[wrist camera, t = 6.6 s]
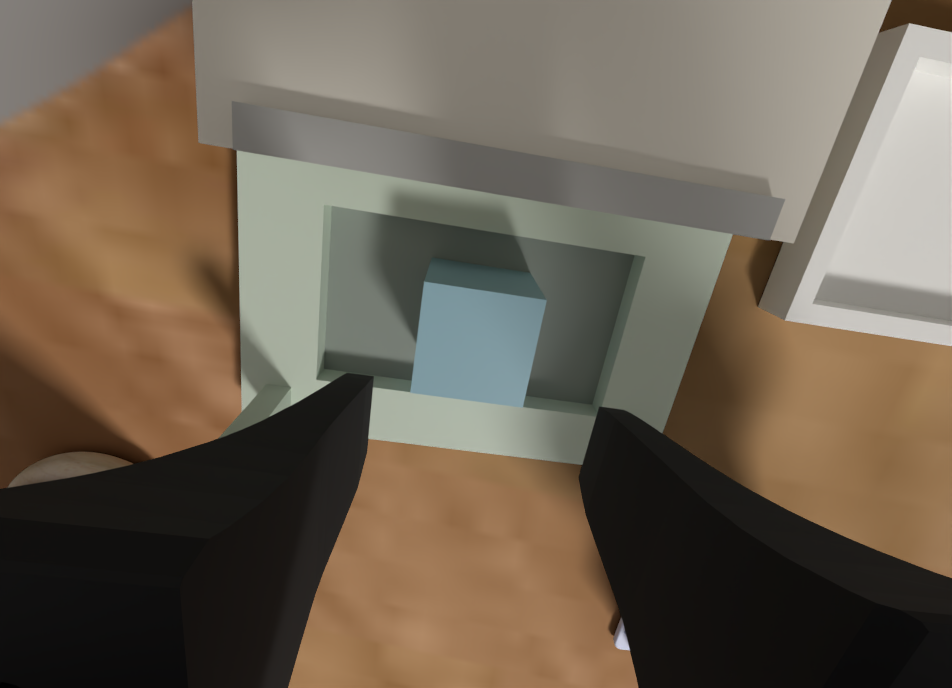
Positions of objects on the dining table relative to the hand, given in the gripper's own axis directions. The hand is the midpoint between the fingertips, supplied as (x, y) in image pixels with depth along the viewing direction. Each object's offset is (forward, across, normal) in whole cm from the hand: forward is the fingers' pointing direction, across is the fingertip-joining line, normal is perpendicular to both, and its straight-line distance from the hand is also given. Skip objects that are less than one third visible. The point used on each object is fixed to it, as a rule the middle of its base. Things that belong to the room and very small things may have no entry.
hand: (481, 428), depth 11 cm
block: (+9, 0, 0) cm, 9 cm away
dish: (+9, -17, -7) cm, 21 cm away
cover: (+3, 0, -9) cm, 10 cm away
